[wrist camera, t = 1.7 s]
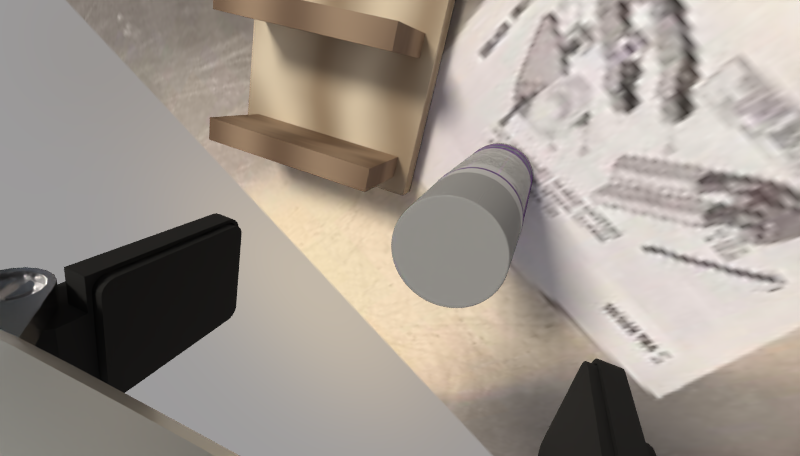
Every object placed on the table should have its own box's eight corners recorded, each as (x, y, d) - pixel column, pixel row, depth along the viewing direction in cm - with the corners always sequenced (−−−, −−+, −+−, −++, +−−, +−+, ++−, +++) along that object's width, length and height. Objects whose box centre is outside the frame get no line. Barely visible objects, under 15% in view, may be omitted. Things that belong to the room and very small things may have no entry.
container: (492, 221, 29) (440, 331, 16) (451, 172, 29) (364, 239, 16) (547, 182, 27) (542, 270, 13) (503, 128, 27) (454, 163, 13)
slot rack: (488, -136, 23) (465, -214, 17) (409, 191, 30) (376, 214, 25) (281, -158, 26) (204, -229, 20) (258, 141, 34) (197, 151, 28)
